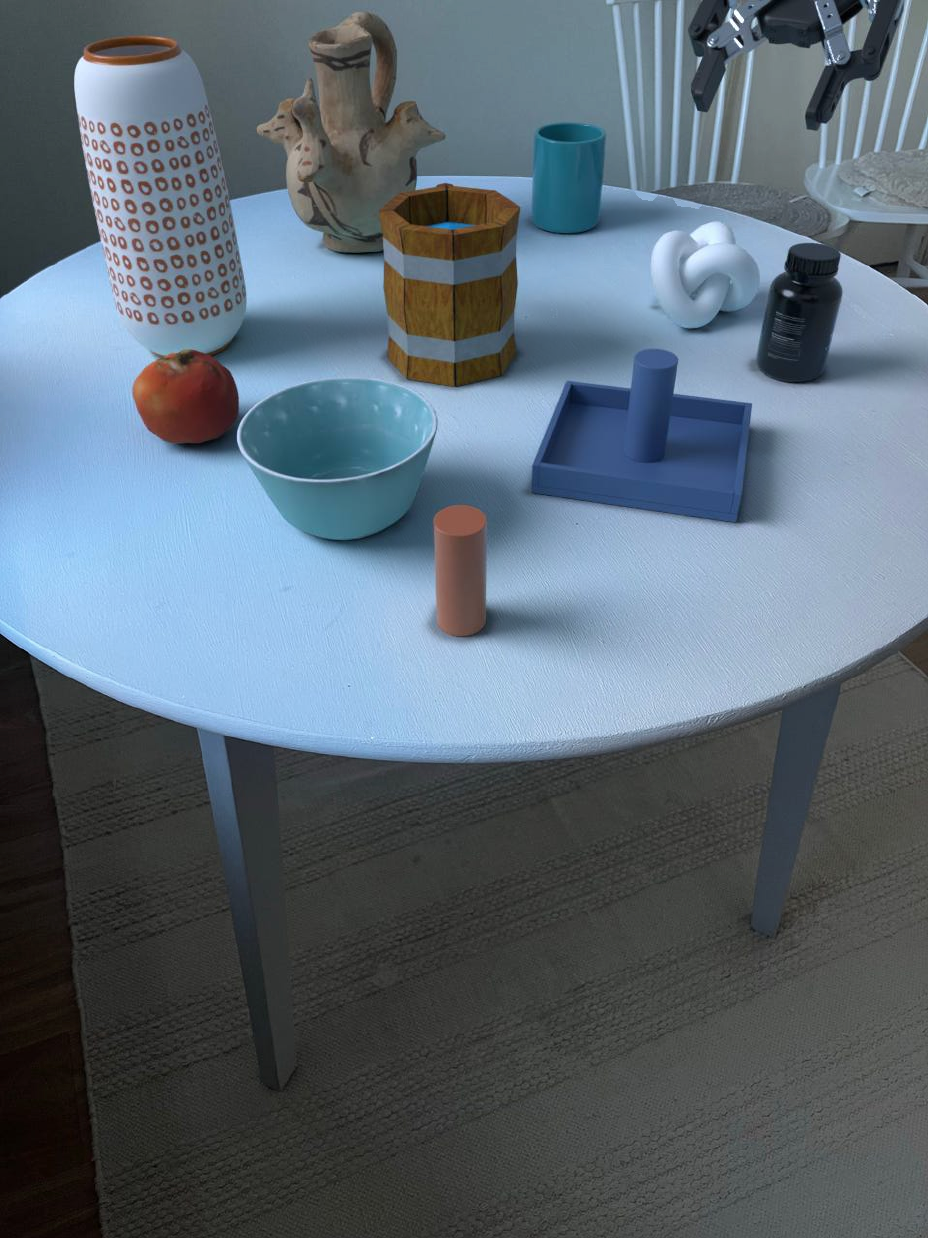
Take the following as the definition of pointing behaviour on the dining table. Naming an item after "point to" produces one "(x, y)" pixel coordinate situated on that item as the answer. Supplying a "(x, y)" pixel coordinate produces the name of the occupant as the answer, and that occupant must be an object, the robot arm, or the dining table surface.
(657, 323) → the dining table surface
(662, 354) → the blue peg
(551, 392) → the dining table surface
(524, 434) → the dining table surface
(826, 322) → the supplement bottle
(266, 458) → the bowl
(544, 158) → the cup
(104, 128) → the vase
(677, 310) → the white trefoil knot
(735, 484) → the blue tray
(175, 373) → the red round fruit
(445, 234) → the wooden banded barrel
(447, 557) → the terracotta peg
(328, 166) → the ceramic vessel
